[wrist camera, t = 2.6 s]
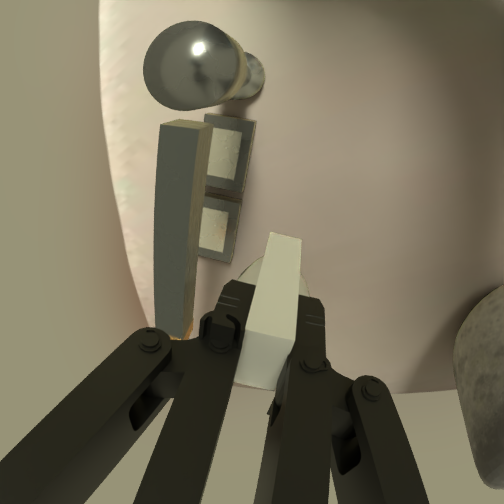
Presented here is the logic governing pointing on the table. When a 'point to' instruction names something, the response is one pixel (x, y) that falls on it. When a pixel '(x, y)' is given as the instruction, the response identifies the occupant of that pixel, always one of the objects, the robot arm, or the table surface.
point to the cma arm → (185, 155)
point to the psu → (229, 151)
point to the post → (251, 78)
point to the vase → (483, 384)
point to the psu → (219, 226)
